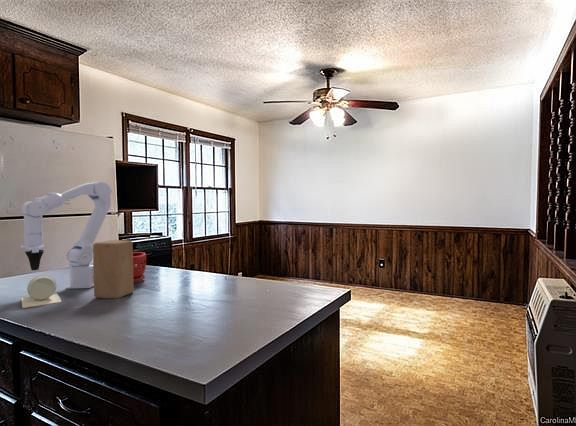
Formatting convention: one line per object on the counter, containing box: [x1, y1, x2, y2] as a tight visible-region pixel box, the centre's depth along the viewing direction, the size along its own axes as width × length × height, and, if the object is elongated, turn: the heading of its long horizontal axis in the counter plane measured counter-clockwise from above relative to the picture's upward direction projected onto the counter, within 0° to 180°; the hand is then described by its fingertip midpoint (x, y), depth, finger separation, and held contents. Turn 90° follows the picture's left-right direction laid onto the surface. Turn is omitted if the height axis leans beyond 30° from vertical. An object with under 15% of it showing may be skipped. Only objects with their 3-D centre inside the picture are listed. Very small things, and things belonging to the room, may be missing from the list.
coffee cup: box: [26, 274, 57, 300], centre depth 132 cm, size 8×8×12 cm
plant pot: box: [133, 251, 147, 284], centre depth 159 cm, size 13×13×12 cm
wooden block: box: [92, 239, 135, 300], centre depth 136 cm, size 10×10×20 cm
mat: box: [20, 293, 63, 309], centre depth 129 cm, size 14×11×1 cm
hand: (34, 269), depth 137 cm, fingers closed
